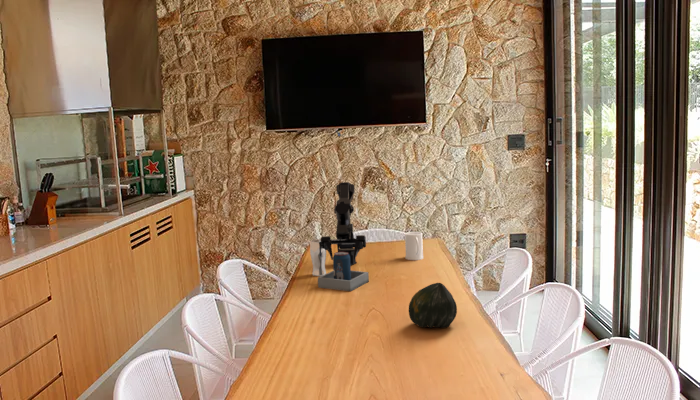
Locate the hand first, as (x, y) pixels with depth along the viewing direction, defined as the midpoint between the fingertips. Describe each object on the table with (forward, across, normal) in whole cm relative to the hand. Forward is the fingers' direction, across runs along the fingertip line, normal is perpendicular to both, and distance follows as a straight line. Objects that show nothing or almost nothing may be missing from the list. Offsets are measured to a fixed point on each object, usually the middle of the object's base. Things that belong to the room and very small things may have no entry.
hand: (343, 259), depth 254 cm
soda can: (+10, 0, +2) cm, 10 cm away
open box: (+10, 0, +3) cm, 11 cm away
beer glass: (-2, -11, +15) cm, 19 cm away
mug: (-19, +31, +33) cm, 49 cm away
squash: (+46, +32, -33) cm, 65 cm away
